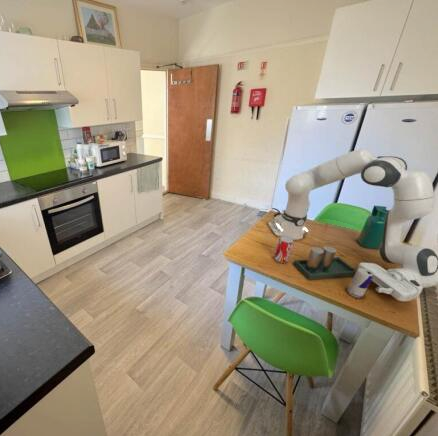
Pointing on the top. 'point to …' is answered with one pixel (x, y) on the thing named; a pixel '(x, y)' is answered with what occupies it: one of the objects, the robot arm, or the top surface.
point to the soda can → (283, 249)
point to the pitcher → (373, 228)
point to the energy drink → (360, 282)
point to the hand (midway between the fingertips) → (367, 281)
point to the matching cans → (320, 259)
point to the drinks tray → (335, 270)
